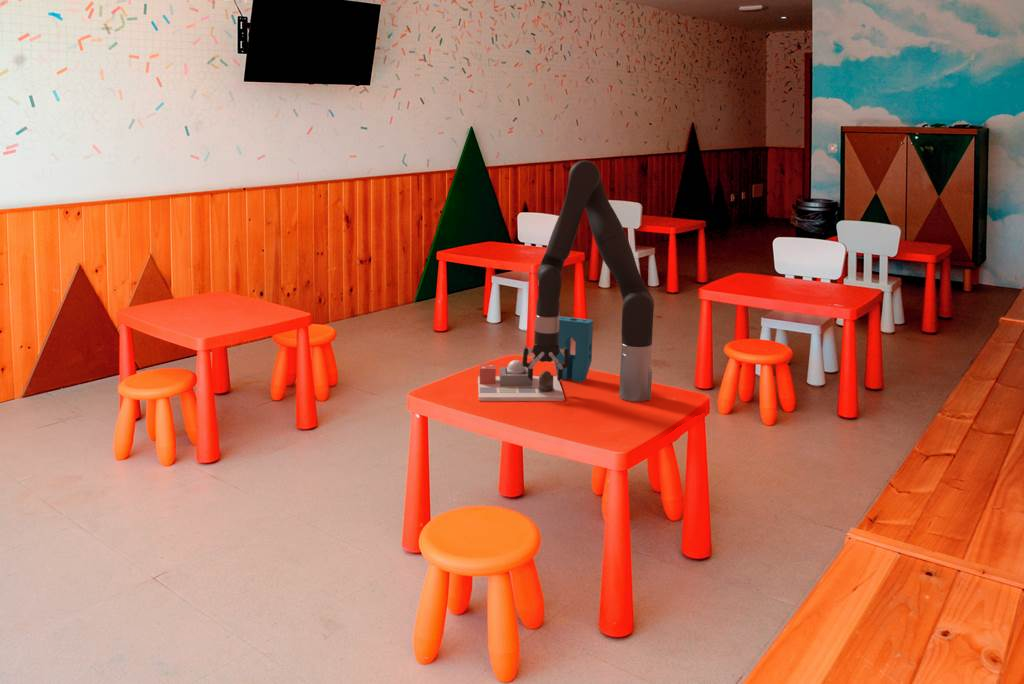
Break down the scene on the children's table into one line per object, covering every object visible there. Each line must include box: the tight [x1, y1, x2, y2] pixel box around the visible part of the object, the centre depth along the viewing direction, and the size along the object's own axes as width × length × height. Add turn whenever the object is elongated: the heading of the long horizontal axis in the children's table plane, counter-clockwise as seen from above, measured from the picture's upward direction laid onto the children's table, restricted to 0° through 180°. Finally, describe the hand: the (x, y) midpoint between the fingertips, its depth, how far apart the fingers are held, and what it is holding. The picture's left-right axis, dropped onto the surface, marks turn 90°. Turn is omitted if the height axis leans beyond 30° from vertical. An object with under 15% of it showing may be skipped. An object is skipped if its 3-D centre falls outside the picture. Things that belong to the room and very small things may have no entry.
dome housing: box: [498, 366, 532, 386], centre depth 290 cm, size 10×10×4 cm
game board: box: [477, 375, 565, 402], centre depth 286 cm, size 26×22×1 cm
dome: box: [506, 359, 525, 374], centre depth 289 cm, size 6×6×5 cm
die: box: [479, 364, 497, 384], centre depth 289 cm, size 5×5×5 cm
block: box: [553, 315, 594, 383], centre depth 296 cm, size 12×5×20 cm, turn 66°
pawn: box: [538, 370, 554, 392], centre depth 281 cm, size 4×4×6 cm
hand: (544, 379), depth 282 cm, fingers open, 8 cm apart
